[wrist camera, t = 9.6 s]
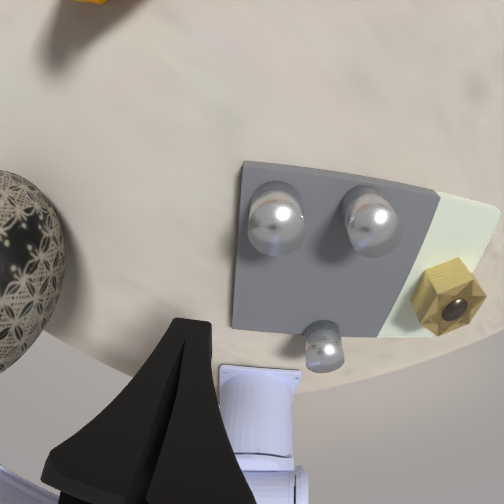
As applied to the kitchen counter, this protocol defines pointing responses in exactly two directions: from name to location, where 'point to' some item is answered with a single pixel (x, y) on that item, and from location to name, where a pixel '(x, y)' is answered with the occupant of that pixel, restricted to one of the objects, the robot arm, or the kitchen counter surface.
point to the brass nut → (447, 297)
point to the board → (350, 256)
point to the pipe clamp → (94, 1)
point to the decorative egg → (26, 265)
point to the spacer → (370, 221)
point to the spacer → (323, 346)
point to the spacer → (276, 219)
